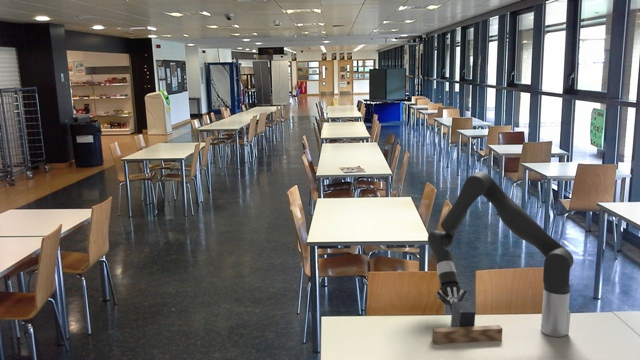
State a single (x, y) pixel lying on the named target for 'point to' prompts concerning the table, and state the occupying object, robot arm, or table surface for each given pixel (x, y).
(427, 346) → the table surface
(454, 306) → the small box
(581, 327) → the table surface
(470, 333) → the walnut board
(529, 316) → the table surface
